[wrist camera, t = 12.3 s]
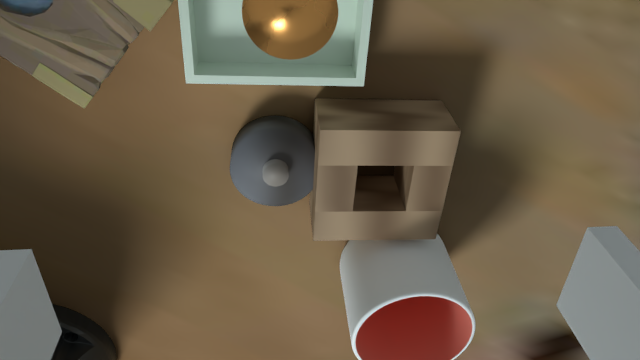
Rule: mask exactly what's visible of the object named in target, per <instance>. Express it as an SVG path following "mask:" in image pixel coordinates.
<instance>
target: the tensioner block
mask: <svg viewBox="0 0 640 360" xmlns="http://www.w3.org/2000/svg"><path fill="white" fill-rule="evenodd" d="M460 133H461V131H460V129H459V127H458V126H457V124H456V123H455V121H454V119H453V118H452V116H451V115H450V113H449V111H448V110H447V108H446V107H445V105H444V103H443V102H442V100H380V99H315V106H314V125H313V134H312V133H311V132H310V130H309V129H308V128H307V127H306V126H304V125H303V124H302V123H300V122H298V121H296V120H294V119H292V118H289V117H284V116H266V117H261V118H258V119H256V120H253V121H252V122H250V123H248V124H247V125H246V126H244V127H243V128H242V129H241V130H240V131H239V133H238V134H237V136H236V138H235V140H234V142H233V146H232V153H231V162H230V174H231V178H232V181H233V183H234V185H235V186H236V188H237V189H238V190H239V192H240V193H241V194H243V195H244V196H245V197H246V198H248V199H250V200H252V201H253V202H256V203H259V204H262V205H268V206H282V205H288V204H291V203H294V202H296V201H298V200H300V199H302V198H304V197H305V196H306V195H307V194H309V193H310V199H309V205H310V215H311V224H312V233H313V241H326V240H413V239H436V235H437V231H438V227H439V223H440V218H441V214H442V210H443V206H444V201H445V197H446V193H447V189H448V184H449V180H450V176H451V172H452V167H453V163H454V159H455V154H456V150H457V146H458V142H459V137H460ZM358 166H395V168H394V175H393V176H376V175H357V168H358Z"/></svg>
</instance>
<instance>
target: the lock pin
mask: <svg viewBox="0 0 640 360" xmlns="http://www.w3.org/2000/svg"><path fill="white" fill-rule="evenodd" d="M242 19H243V23H244V27H245V29H246V32H247V34H248V35H249V37H250V39H251V40H252V41H253V42H254V44H255V45H256V46H257V47H259V48H260V49H261V50H262V51H264V52H265V53H267V54H269V55H271V56H274V57H277V58H281V59H288V60H292V59H301V58H304V57H308V56H310V55H312V54H314V53H316V52H317V51H319V50H320V49H321V48H322V47H323V46H324V45H325V44H326V43H327V42H328V41H329V40H330V38H331V36H332V35H333V33H334V31H335V28H336V25H337V21H338V3H337V0H243V3H242Z"/></svg>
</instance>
